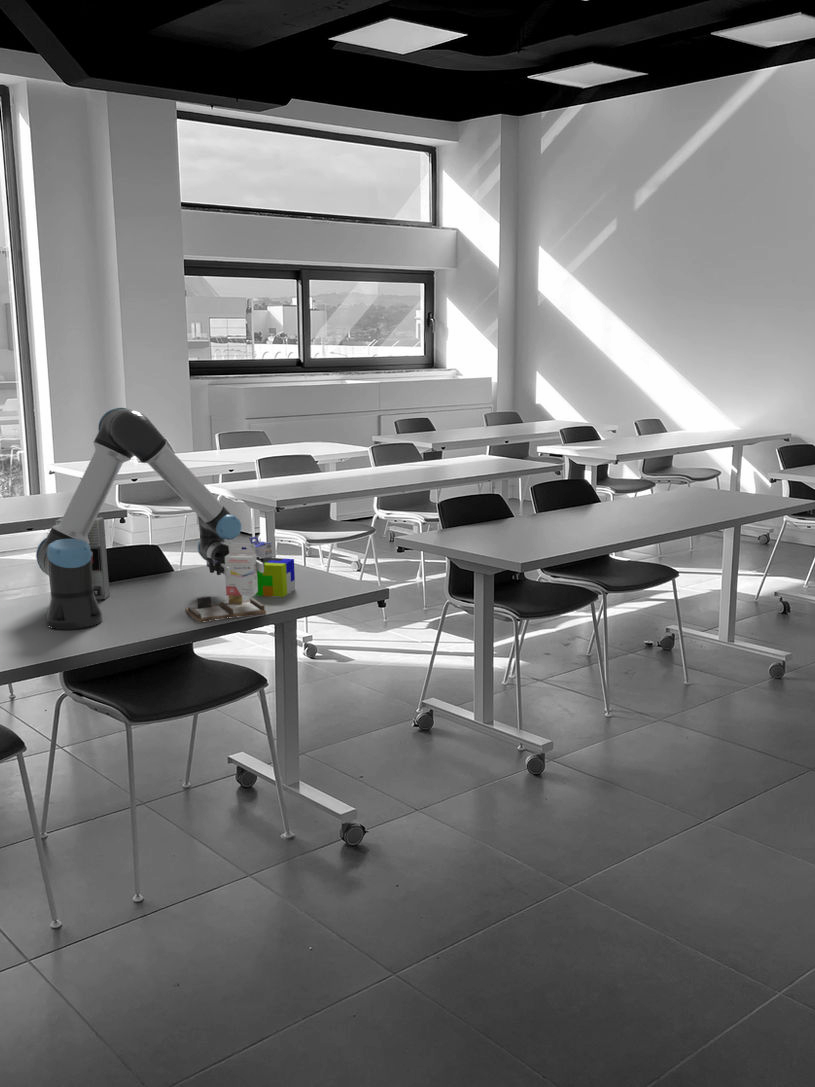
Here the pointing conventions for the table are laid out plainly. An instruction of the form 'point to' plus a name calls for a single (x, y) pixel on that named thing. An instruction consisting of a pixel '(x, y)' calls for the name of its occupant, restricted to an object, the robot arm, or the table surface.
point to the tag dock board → (225, 608)
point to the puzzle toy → (276, 577)
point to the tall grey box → (98, 558)
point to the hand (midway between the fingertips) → (245, 570)
